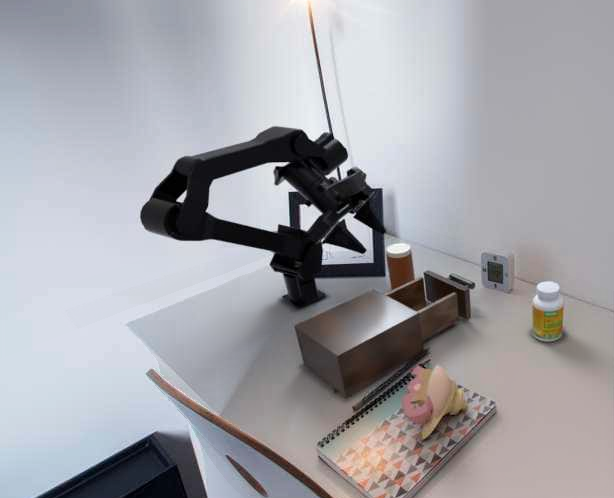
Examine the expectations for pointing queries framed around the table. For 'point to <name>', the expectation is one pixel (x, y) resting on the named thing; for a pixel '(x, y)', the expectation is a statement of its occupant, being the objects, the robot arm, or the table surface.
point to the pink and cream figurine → (431, 398)
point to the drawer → (436, 300)
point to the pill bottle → (400, 264)
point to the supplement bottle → (548, 312)
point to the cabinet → (359, 341)
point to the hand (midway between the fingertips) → (375, 242)
